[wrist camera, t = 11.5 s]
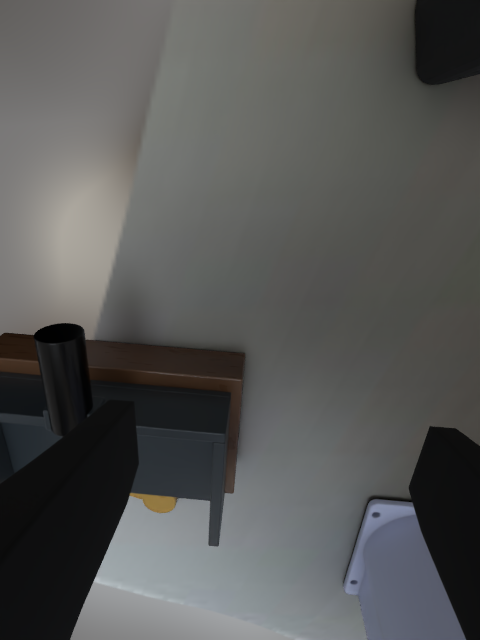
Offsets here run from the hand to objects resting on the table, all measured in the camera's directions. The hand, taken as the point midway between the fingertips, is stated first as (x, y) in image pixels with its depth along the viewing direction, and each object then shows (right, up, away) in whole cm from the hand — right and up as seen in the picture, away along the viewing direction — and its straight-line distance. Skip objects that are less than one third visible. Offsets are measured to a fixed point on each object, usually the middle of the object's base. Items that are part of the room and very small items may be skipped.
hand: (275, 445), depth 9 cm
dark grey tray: (-7, -1, +9) cm, 12 cm away
